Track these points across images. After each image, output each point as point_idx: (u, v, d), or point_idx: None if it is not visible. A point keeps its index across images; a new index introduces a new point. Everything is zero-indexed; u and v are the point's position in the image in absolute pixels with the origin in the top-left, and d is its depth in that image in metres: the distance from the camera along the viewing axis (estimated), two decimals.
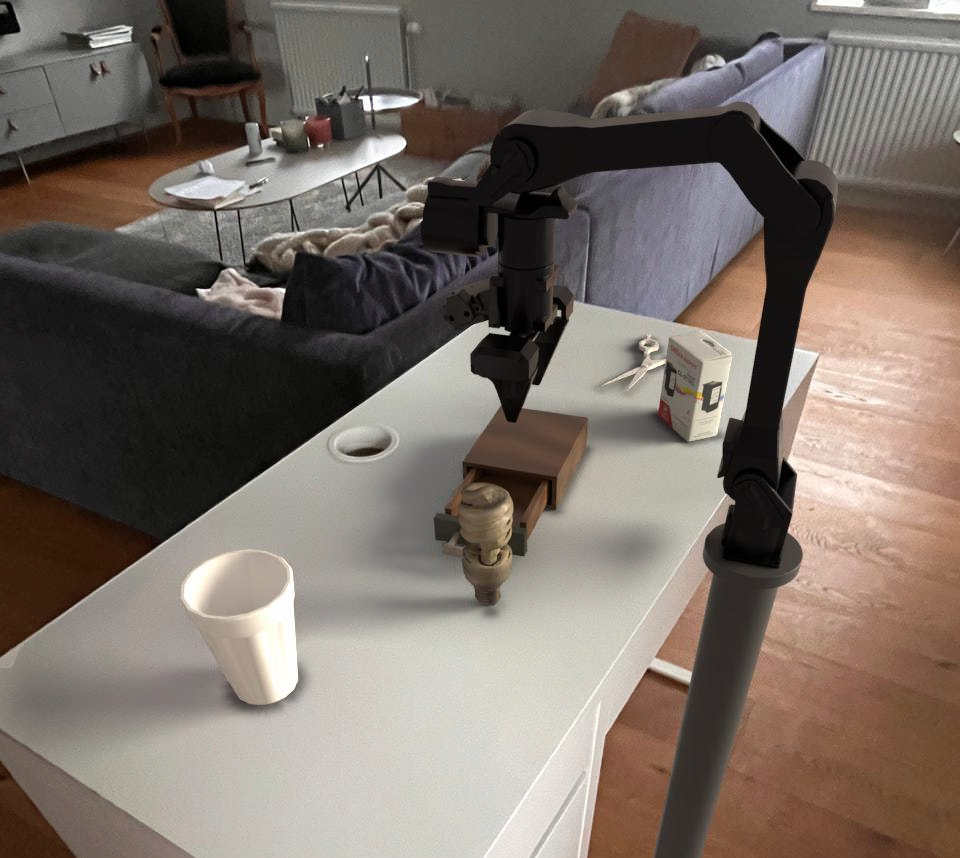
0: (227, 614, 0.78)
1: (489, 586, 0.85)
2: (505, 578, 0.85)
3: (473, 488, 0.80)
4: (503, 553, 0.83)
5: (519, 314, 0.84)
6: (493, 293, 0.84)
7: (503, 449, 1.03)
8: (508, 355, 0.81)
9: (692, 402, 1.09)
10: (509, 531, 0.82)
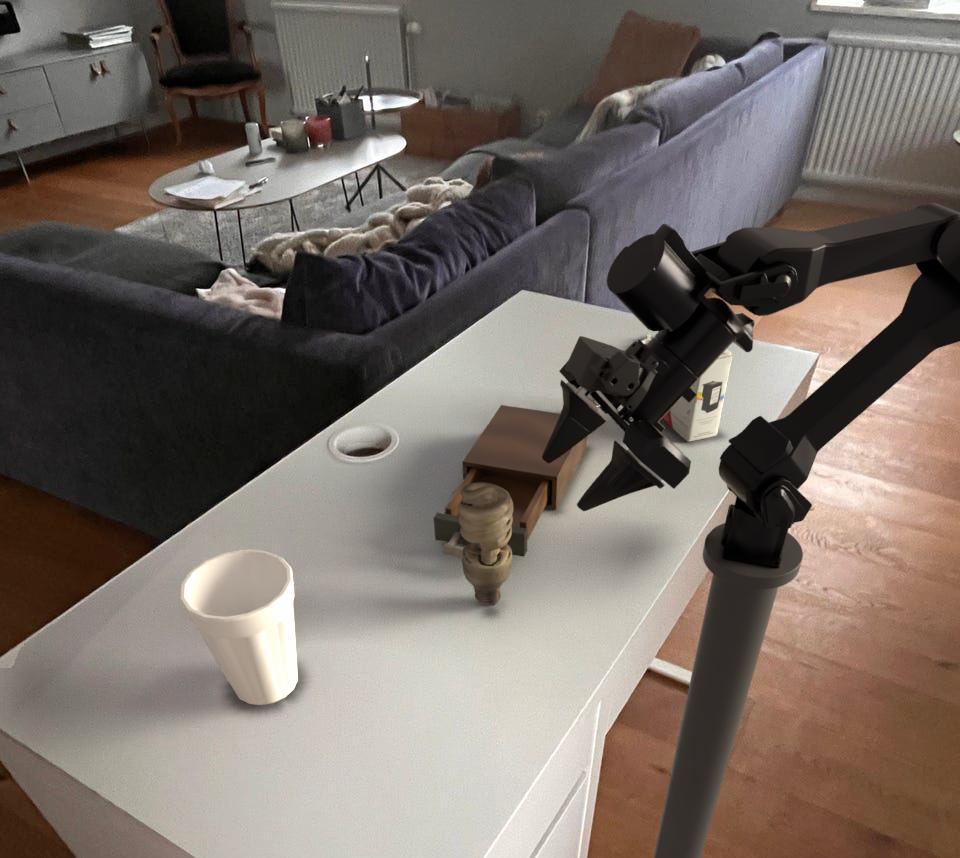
0: (227, 614, 0.78)
1: (489, 586, 0.85)
2: (505, 578, 0.85)
3: (473, 488, 0.80)
4: (503, 553, 0.83)
5: (657, 410, 0.76)
6: (651, 376, 0.74)
7: (503, 449, 1.03)
8: (683, 460, 0.73)
9: (692, 402, 1.09)
10: (509, 531, 0.82)
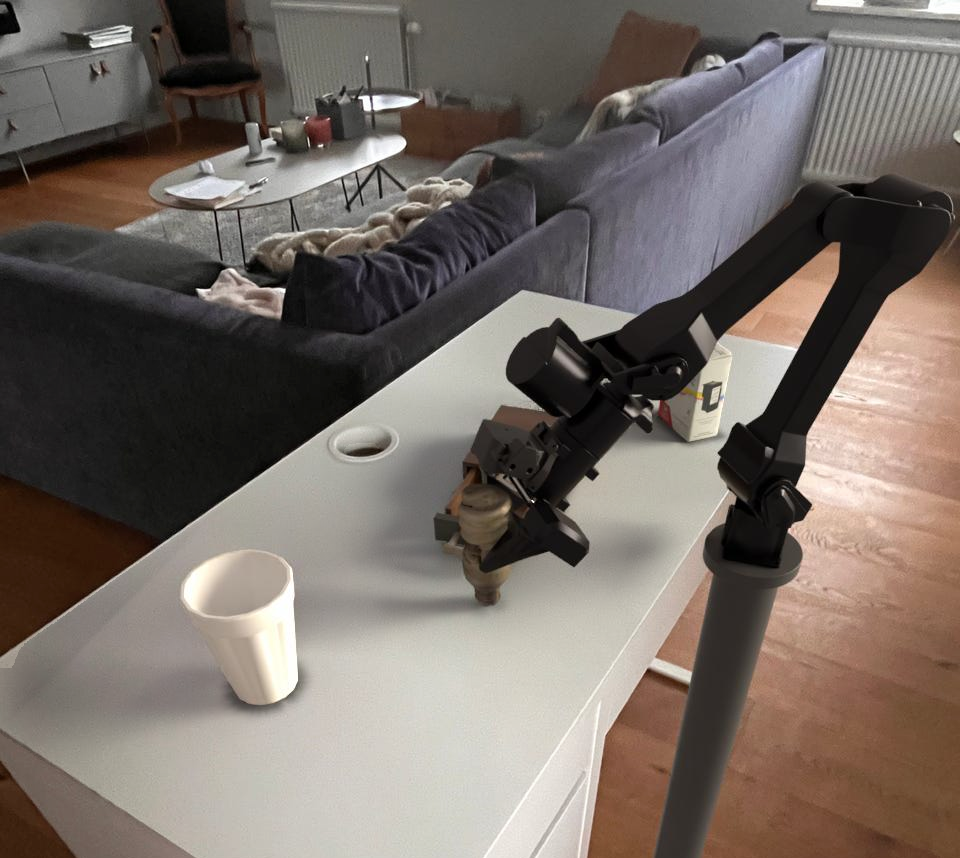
0: (227, 614, 0.78)
1: (489, 587, 0.84)
2: (505, 579, 0.85)
3: (473, 489, 0.80)
4: None
5: (560, 489, 0.78)
6: (551, 459, 0.76)
7: None
8: (581, 541, 0.75)
9: (692, 402, 1.09)
10: None
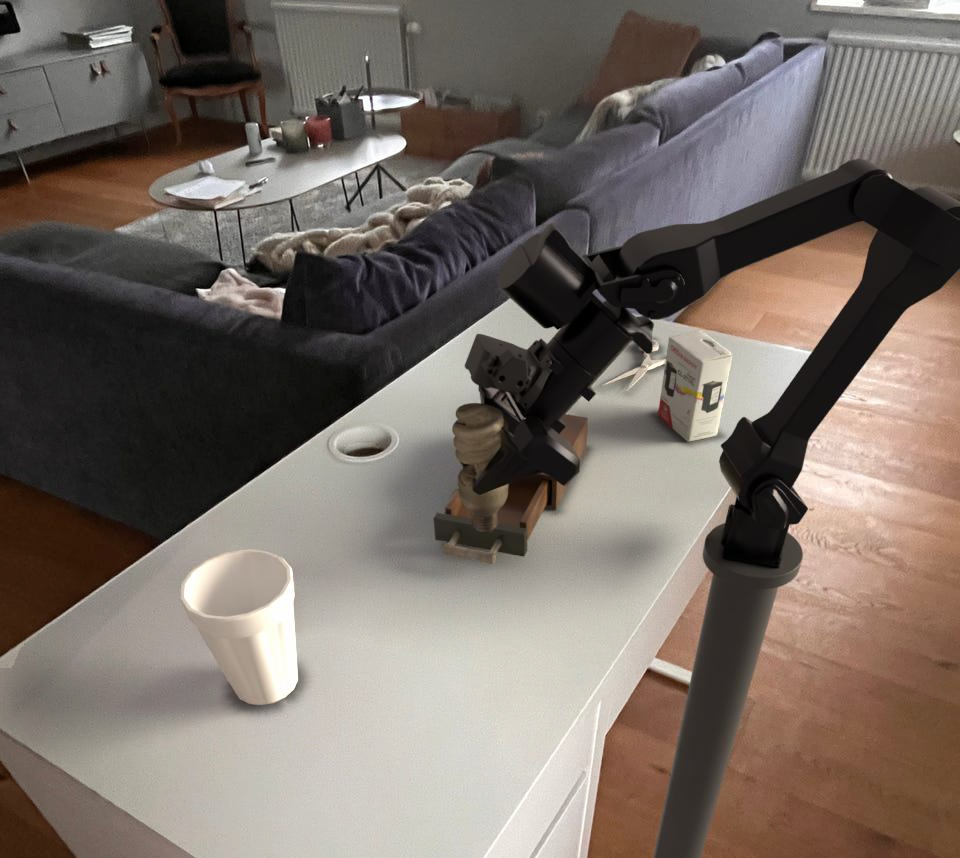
0: (227, 614, 0.78)
1: (483, 511, 0.84)
2: (500, 504, 0.84)
3: (468, 408, 0.80)
4: None
5: (554, 408, 0.77)
6: (545, 375, 0.75)
7: None
8: (570, 458, 0.74)
9: (692, 402, 1.09)
10: None
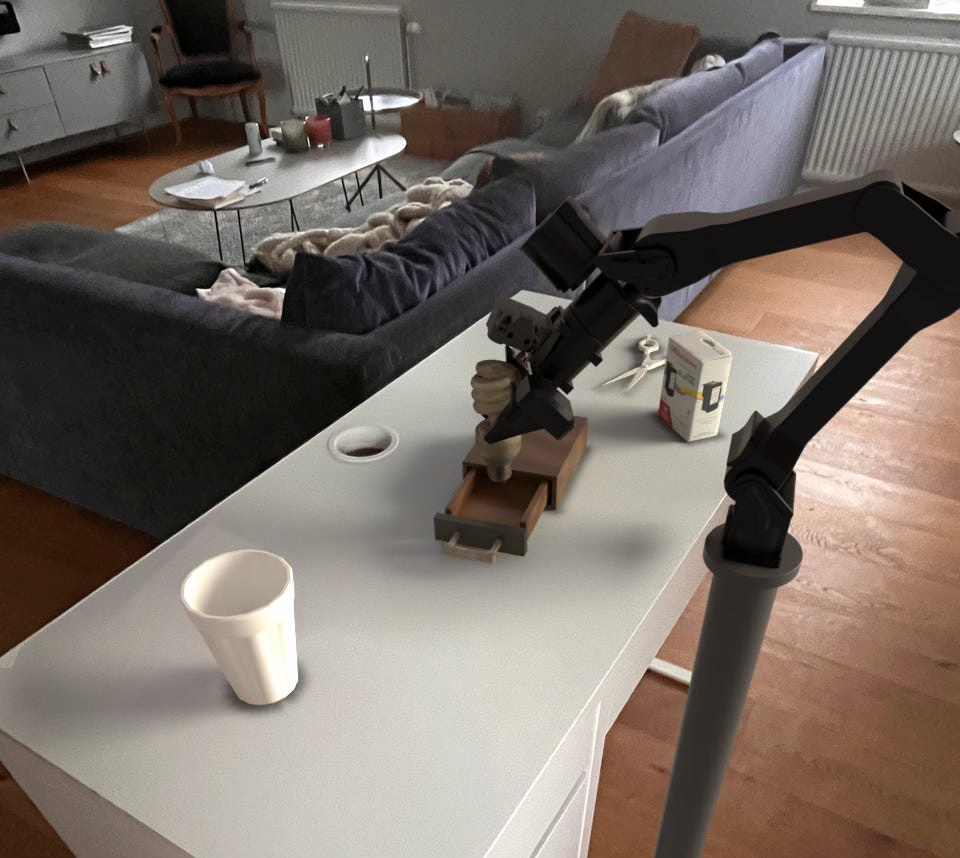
0: (227, 614, 0.78)
1: (494, 460, 0.92)
2: (511, 455, 0.92)
3: None
4: None
5: (561, 369, 0.84)
6: (554, 337, 0.82)
7: None
8: (564, 414, 0.81)
9: (692, 402, 1.09)
10: None
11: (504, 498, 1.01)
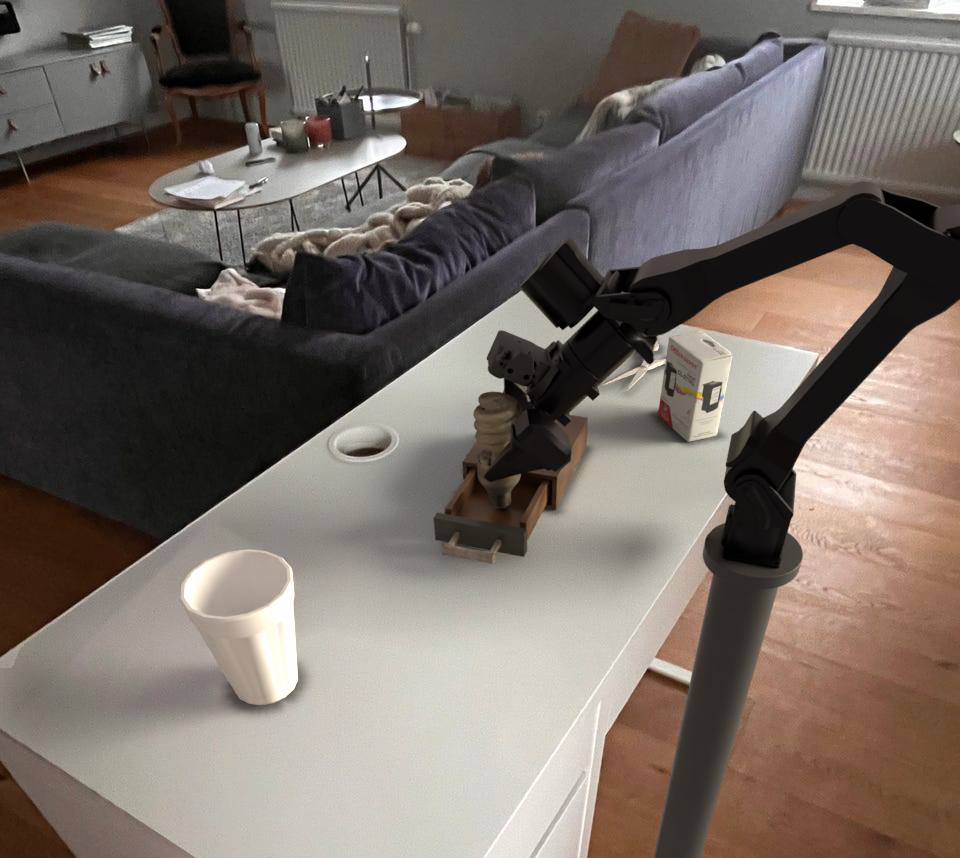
0: (227, 614, 0.78)
1: (495, 488, 0.94)
2: (511, 484, 0.94)
3: (490, 395, 0.90)
4: None
5: (559, 402, 0.87)
6: (552, 372, 0.85)
7: None
8: (561, 447, 0.83)
9: (692, 402, 1.09)
10: None
11: None
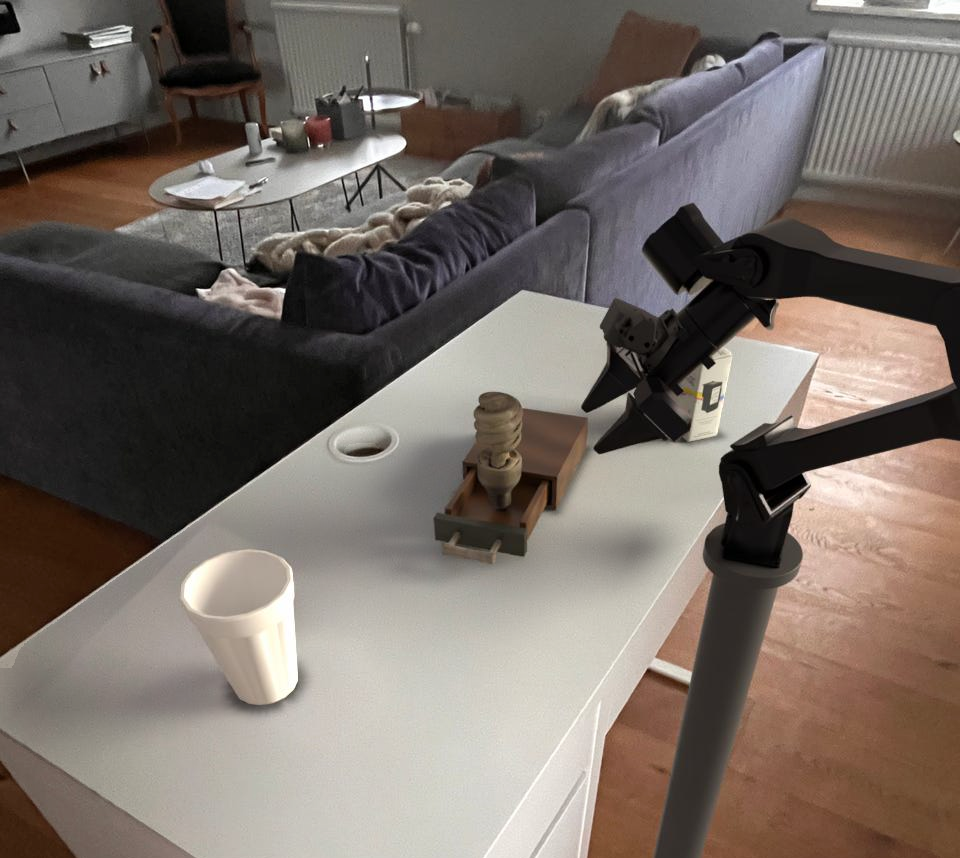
0: (227, 614, 0.78)
1: (495, 488, 0.94)
2: (511, 484, 0.94)
3: None
4: (511, 460, 0.93)
5: (675, 372, 0.85)
6: (670, 340, 0.83)
7: None
8: (683, 416, 0.82)
9: (692, 402, 1.09)
10: (517, 439, 0.91)
11: None
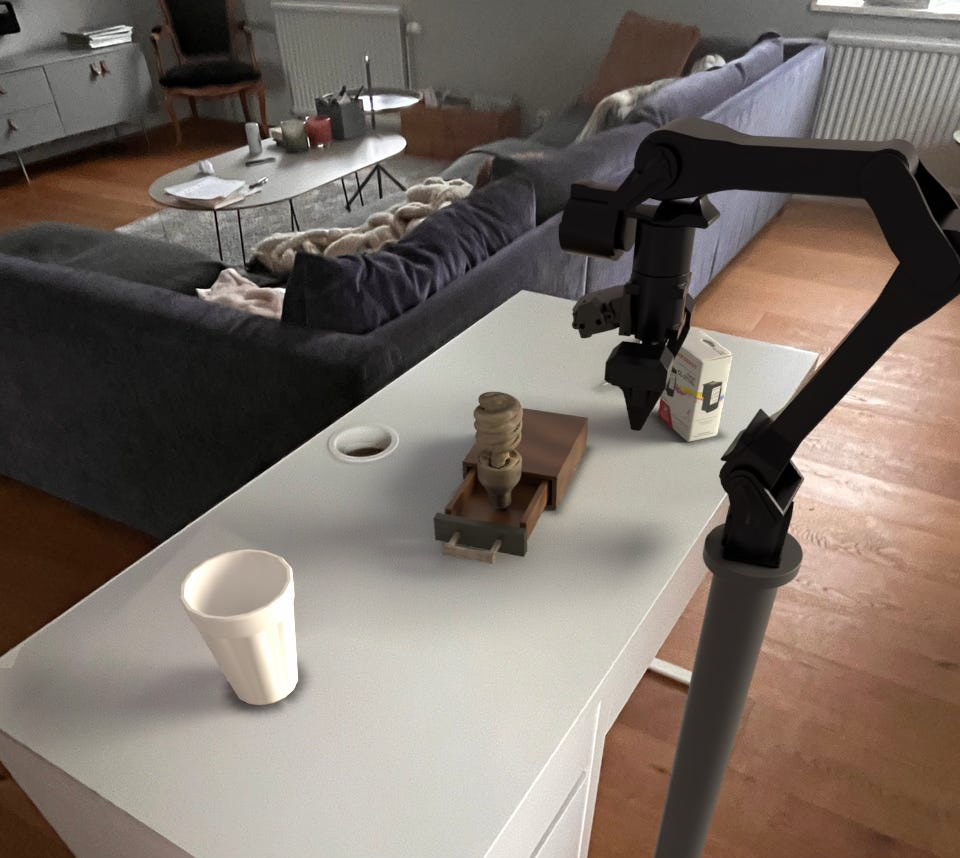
0: (227, 614, 0.78)
1: (495, 488, 0.94)
2: (511, 484, 0.94)
3: None
4: (511, 460, 0.93)
5: (652, 322, 0.83)
6: (626, 301, 0.83)
7: None
8: (647, 363, 0.80)
9: (692, 402, 1.09)
10: (517, 439, 0.91)
11: None
